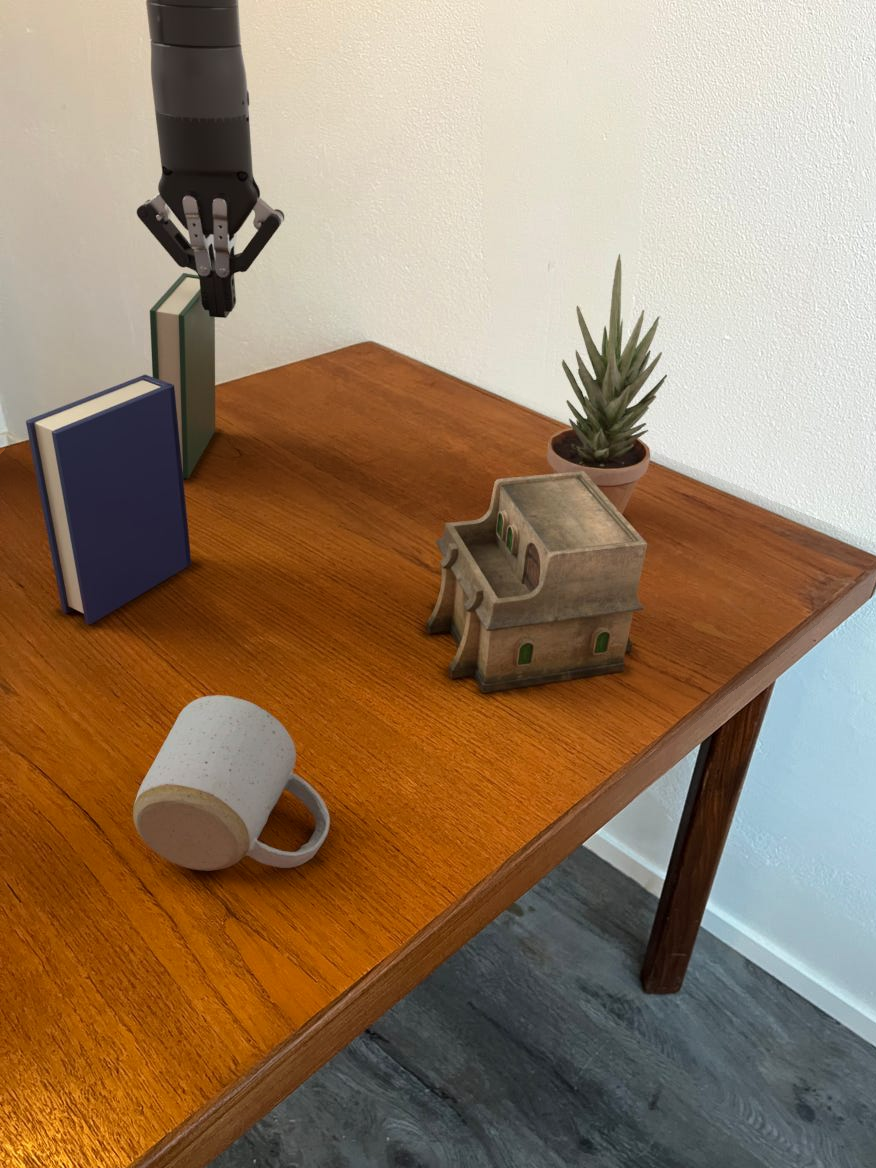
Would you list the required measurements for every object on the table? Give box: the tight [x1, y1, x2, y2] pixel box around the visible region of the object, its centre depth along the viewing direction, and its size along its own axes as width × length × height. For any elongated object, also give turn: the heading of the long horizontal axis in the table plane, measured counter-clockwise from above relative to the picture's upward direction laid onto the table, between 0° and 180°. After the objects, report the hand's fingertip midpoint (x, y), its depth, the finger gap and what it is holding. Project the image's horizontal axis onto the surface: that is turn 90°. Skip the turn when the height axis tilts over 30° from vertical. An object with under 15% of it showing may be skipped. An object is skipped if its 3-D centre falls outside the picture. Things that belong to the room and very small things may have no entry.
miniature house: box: [426, 471, 648, 694], centre depth 78 cm, size 15×14×11 cm
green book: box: [149, 272, 216, 480], centre depth 97 cm, size 16×11×3 cm
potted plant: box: [546, 253, 668, 515], centre depth 90 cm, size 10×10×25 cm
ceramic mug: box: [132, 694, 331, 872], centre depth 60 cm, size 11×8×8 cm
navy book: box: [25, 374, 192, 626], centre depth 77 cm, size 16×11×3 cm
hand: (220, 314), depth 93 cm, fingers closed
